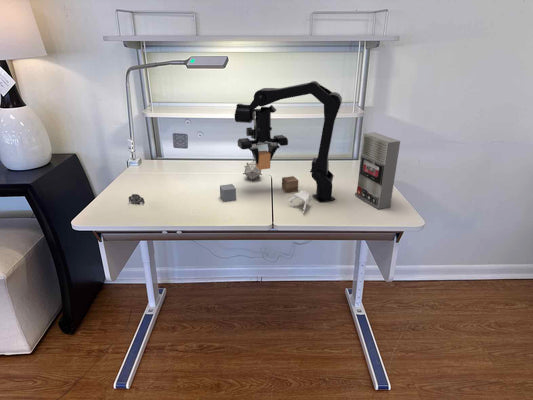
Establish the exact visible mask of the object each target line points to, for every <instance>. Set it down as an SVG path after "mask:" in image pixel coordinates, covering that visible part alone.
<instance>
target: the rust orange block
mask: <svg viewBox="0 0 533 400" xmlns="http://www.w3.org/2000/svg"><path fill="white" fill-rule="evenodd" d="M256 167H257V168H258V169H259V170H261V171H262V170H268V169H271V161H270V153H269V152H268V150H258V164H256Z"/></svg>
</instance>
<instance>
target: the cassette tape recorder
mask: <svg viewBox="0 0 533 400" xmlns="http://www.w3.org/2000/svg"><path fill="white" fill-rule="evenodd" d="M400 144H401V141H400V140H398V139H395V138H392V137H389V136H386V135H384V134H381V133H378V132H367V133H366V132H364V133H363V136H362V145H361V153H360V161H359V171H358V177H357V178H358V181H357V187H356V192H354V195H355V196H356V198H359V199H360V200H362V201H364V202H366V203H367V204H369V205H370V206H372V207H374V208H376V209H377V210H380V209H385V208H390V207H391V205H392V198H393V197H392V196H393V191H394V183H395V178H396V177H395V176H396V171H397V164H398V158H399V151H400Z"/></svg>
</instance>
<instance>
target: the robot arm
mask: <svg viewBox="0 0 533 400" xmlns="http://www.w3.org/2000/svg"><path fill="white" fill-rule="evenodd" d="M307 95H312V96H313V97H314V98H316V99H317V100H318V101H319V102H320V103H322V104H323V118H324V119H323V126H322V131H321V137H320V144H319V148H318V154H317V158H316V157H313V159H312V161H311V169H310V171H309V173H311V178H312V179H313V180H314V181H315V183H316V189H315V191H316V193H315V194H312V197H313V198H314V199H316V200H317V202H320V203H322V202H330V201H335V200H336V199H335V197H334V196H332V194H333V179H334V176H335V175H334V174H333V173H332V172H331V171H330V170H329V167H330V164H329V163H330V161H329V155H330V154H329V153H330V149H331V148H330V147H331V143H332V138H333V133H334V126H335V121H336V118H337V116H338V113H339V110H340V108H341V105H342V102H343V97H342V96H341V94H340V93H339V92H335V91H334V92H333V91H331V89H328V88H326V87H325V86H323V85H322V84H321V83H319V81H315V80H312V81H309V82H306V83H300V84H295V85H289V86H285V87H278V88H277V87H263V88H260V89H259V90H256V91H255V93H254V94H253V99H252V101H251V103H250V104H244V103H237V104H236V108H235V112H234V121H235V122H236V123H247V124H251V123H252V122H253V121H254V122H255V123H254V124H255V125H254V126H253V128H252V127H246V128H245V129H246V130H245V131H246V132H245V133H246V136H247V137H244V138H238V140H237V147H239V148H240V149H241V150H249V151H251V153H252V155H253V160H254V162H255V163H256V164H258V151H259V148H258V147H257V146H259V145H260V146H261V145H267V148H268V149H267V151H268V152H269V153H270V162H271V161H272V160H273V159H272V158H273V157H274V155H275V153H276V151H277V150H278V149H280V146H281V147H283V146H288V144H289V140H288V138H287V136H284V135H283V134H280V135H279V134H277V135H273V137H272V135H271V134H272V133H271V131H272V130H273V127H272V124H271V123H272V122H271V119H272V115H271V114H273V113H275V112H277V108H275V107H274V105H272V104H273V103H274V102H275V103H276V102H277V101H280V100H284V99H291V98H295V97H301V96H302V97H303V96H307ZM268 105H269V106H268ZM258 107H260V108H258ZM248 137H251V139H249V138H248ZM252 139H253V140H252Z"/></svg>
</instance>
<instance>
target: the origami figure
mask: <svg viewBox="0 0 533 400" xmlns="http://www.w3.org/2000/svg"><path fill="white" fill-rule="evenodd" d="M295 199H298V200H301V201H302V202H303V203H304V205H303V208H302V209H303V211H302V212H301V214H304V213H305V212H306V208H307V207H310V205H309V204H310V203H311V201H312V199H313V198H312V197H311V196H310V193H308V192H306V191H305V190H303V189H302V190H300V191H298V192H296V193H293V196H292V197H290V198H289V199H288V201H289V202H290V203H291V204H292V205H291V206H290V207H292V208H294V207H296V206H297V205H296V204H295V203H294V202H293V200H295Z"/></svg>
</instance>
